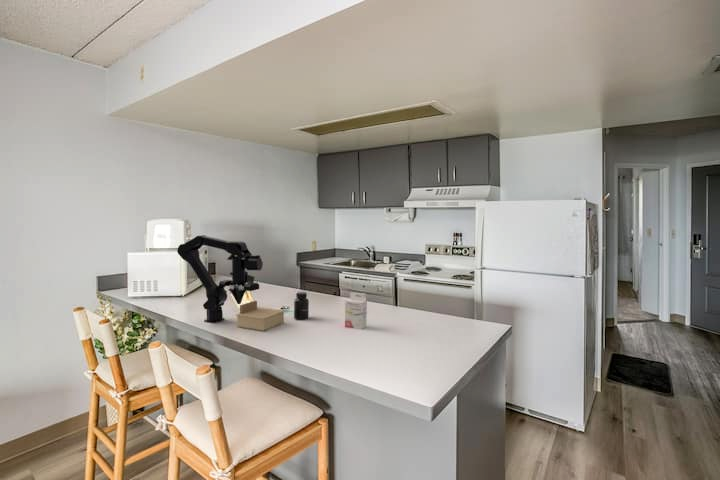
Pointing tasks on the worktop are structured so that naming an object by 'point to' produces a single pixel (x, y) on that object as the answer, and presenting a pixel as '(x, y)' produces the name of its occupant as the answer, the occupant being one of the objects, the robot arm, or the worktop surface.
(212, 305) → the robot arm
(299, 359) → the worktop surface
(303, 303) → the supplement bottle
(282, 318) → the mailer box
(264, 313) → the lid
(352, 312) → the ink cartridge box
